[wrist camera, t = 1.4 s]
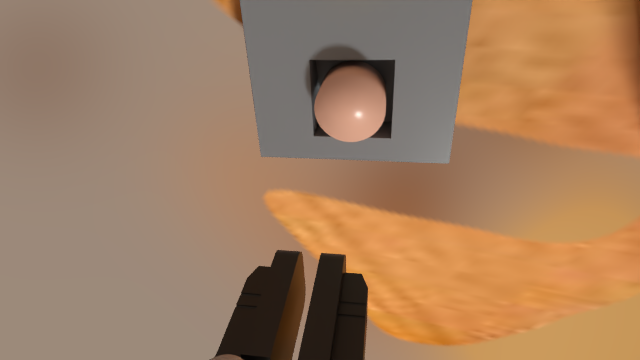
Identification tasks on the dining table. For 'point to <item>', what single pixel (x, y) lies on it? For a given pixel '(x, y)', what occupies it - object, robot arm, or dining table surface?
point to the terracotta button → (351, 101)
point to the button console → (366, 46)
